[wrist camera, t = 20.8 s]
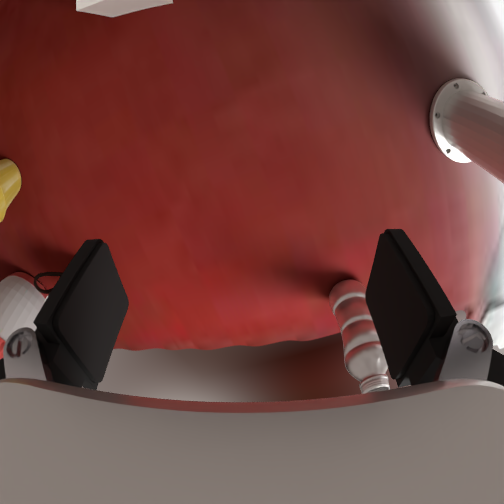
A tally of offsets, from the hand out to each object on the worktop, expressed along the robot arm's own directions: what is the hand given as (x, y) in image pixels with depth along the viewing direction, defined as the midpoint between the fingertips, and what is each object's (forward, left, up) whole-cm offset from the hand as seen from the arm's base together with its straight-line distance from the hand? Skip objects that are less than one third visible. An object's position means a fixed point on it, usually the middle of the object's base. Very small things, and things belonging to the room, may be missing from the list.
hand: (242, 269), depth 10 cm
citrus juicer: (+49, +28, -28) cm, 63 cm away
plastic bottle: (-15, +28, -28) cm, 43 cm away
